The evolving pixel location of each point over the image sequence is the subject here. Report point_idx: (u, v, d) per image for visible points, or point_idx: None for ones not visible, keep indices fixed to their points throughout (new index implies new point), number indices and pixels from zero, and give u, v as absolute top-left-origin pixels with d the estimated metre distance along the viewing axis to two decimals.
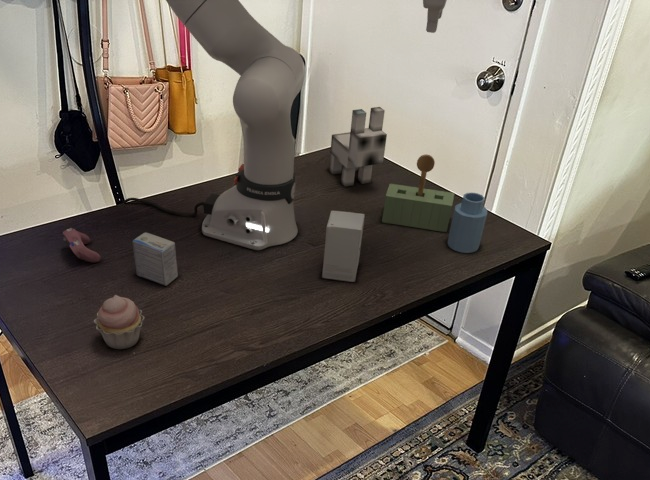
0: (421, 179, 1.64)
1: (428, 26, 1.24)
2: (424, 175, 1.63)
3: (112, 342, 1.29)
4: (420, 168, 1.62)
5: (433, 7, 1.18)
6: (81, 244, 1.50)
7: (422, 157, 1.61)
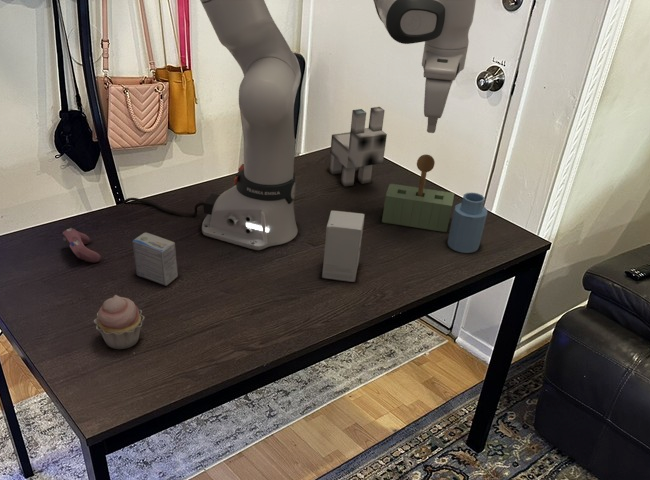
0: (421, 179, 1.64)
1: (428, 128, 1.51)
2: (424, 175, 1.63)
3: (112, 342, 1.29)
4: (420, 168, 1.62)
5: (432, 116, 1.45)
6: (81, 244, 1.50)
7: (422, 157, 1.61)
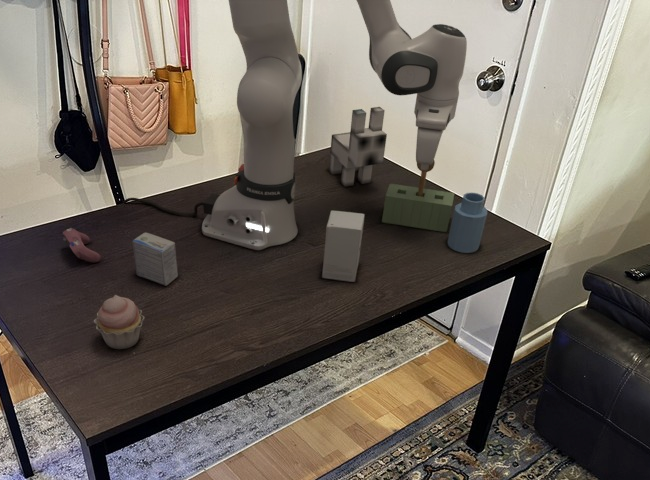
0: (421, 179, 1.64)
1: (422, 165, 1.60)
2: (424, 175, 1.63)
3: (112, 342, 1.29)
4: (420, 168, 1.62)
5: (424, 163, 1.52)
6: (81, 244, 1.50)
7: None
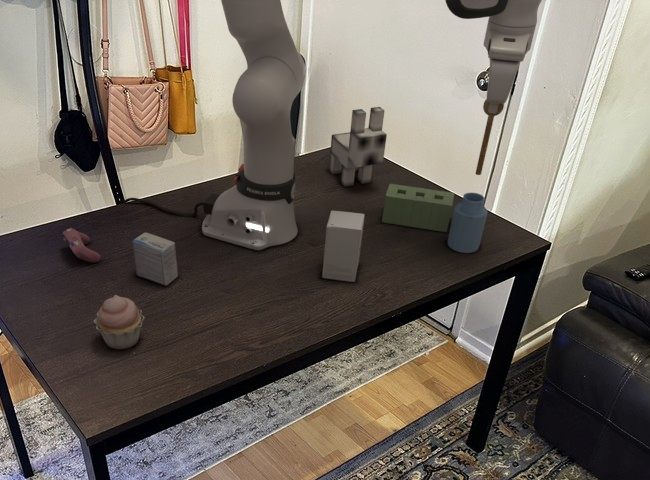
0: (487, 124, 1.45)
1: (490, 108, 1.41)
2: (491, 120, 1.44)
3: (112, 342, 1.29)
4: (487, 111, 1.43)
5: (496, 101, 1.33)
6: (81, 244, 1.50)
7: None
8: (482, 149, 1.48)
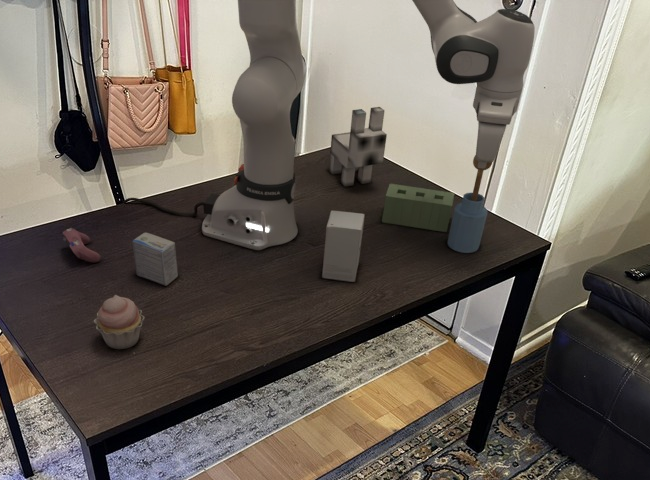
0: (477, 178, 1.52)
1: (479, 163, 1.49)
2: (481, 174, 1.51)
3: (112, 342, 1.29)
4: None
5: (484, 161, 1.40)
6: (81, 244, 1.50)
7: None
8: (472, 200, 1.56)
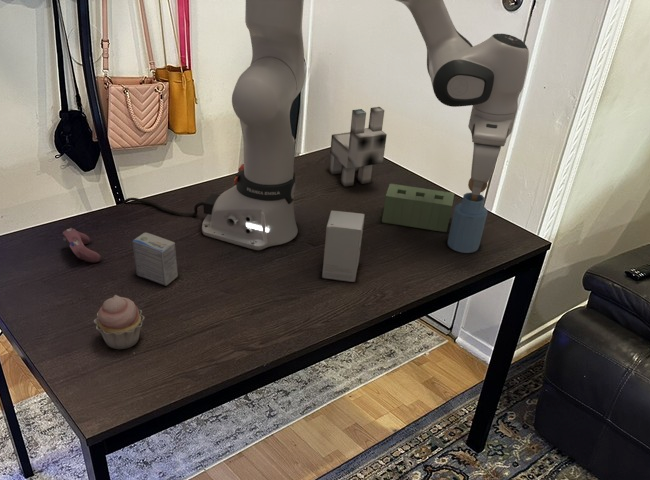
0: (472, 200, 1.56)
1: (473, 190, 1.49)
2: (476, 196, 1.55)
3: (112, 342, 1.29)
4: None
5: (479, 181, 1.43)
6: (81, 244, 1.50)
7: None
8: None
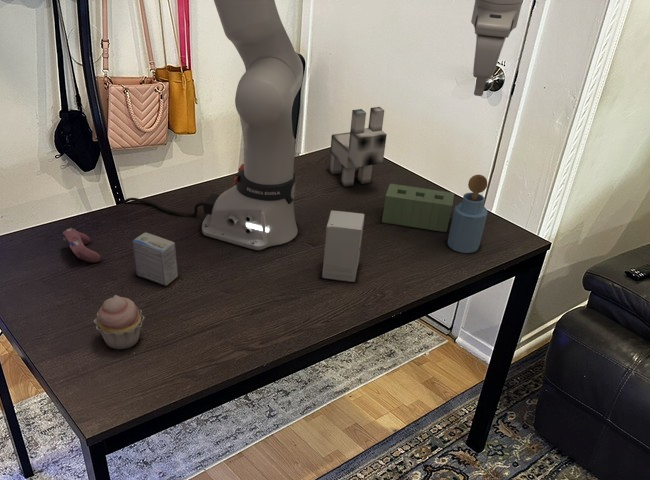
0: (472, 200, 1.56)
1: (476, 90, 1.42)
2: (476, 196, 1.55)
3: (112, 342, 1.29)
4: (472, 189, 1.54)
5: (482, 77, 1.36)
6: (81, 244, 1.50)
7: (474, 177, 1.52)
8: None
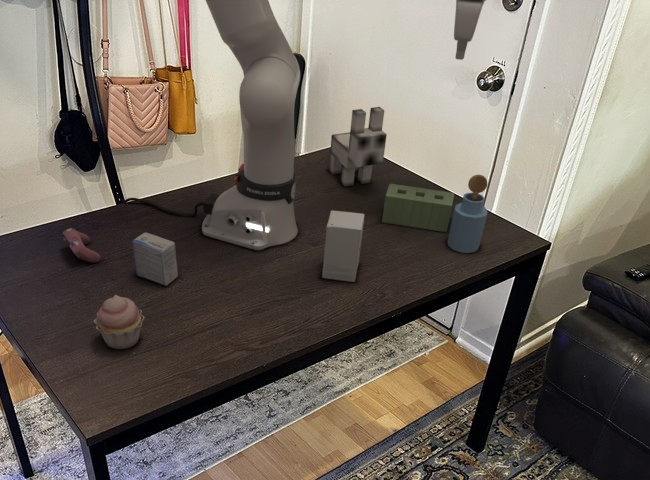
0: (472, 200, 1.56)
1: (457, 54, 1.48)
2: (476, 196, 1.55)
3: (112, 342, 1.29)
4: (472, 189, 1.54)
5: (462, 39, 1.42)
6: (81, 244, 1.50)
7: (474, 177, 1.52)
8: None
